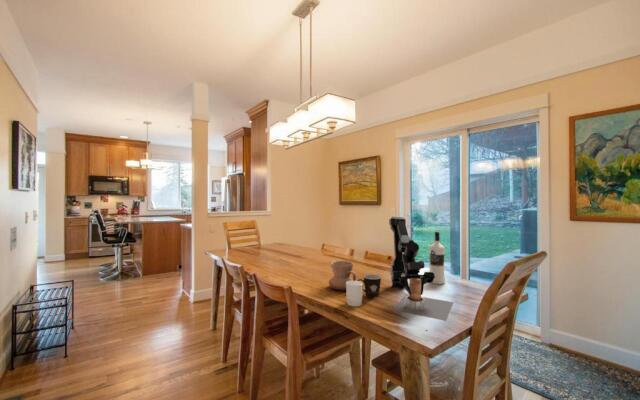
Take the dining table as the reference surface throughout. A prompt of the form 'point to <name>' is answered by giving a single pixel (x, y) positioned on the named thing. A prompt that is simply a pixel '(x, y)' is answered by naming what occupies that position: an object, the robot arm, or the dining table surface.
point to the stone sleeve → (415, 304)
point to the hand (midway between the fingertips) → (415, 294)
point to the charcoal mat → (428, 308)
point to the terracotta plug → (415, 289)
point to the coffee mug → (371, 285)
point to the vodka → (437, 260)
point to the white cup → (354, 293)
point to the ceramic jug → (341, 274)
